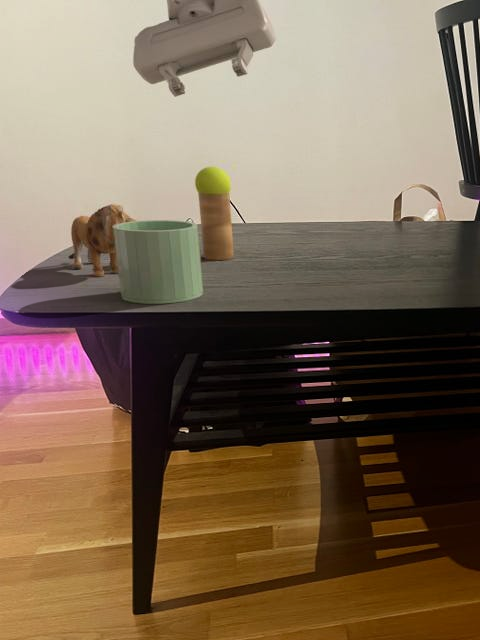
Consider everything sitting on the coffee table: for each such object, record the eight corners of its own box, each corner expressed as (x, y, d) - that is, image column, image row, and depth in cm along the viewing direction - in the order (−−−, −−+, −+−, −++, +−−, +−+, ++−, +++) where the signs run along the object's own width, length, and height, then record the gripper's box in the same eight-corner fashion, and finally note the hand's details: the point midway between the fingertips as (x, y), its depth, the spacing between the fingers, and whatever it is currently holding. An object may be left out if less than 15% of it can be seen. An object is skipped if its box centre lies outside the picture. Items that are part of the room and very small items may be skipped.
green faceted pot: (126, 307, 76) (117, 232, 73) (117, 290, 82) (108, 221, 80) (210, 299, 80) (204, 229, 77) (195, 284, 87) (189, 219, 84)
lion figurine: (150, 275, 91) (142, 204, 88) (110, 281, 86) (100, 207, 84) (88, 259, 98) (79, 194, 95) (48, 265, 94) (37, 196, 91)
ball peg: (205, 261, 100) (197, 167, 96) (198, 255, 104) (190, 165, 100) (239, 259, 103) (233, 168, 99) (231, 253, 107) (225, 165, 103)
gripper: (121, 16, 101) (125, 88, 95) (254, -28, 99) (266, 43, 94) (147, 49, 106) (152, 119, 101) (273, 8, 105) (285, 77, 100)
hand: (208, 82), depth 98 cm, fingers open, 8 cm apart
